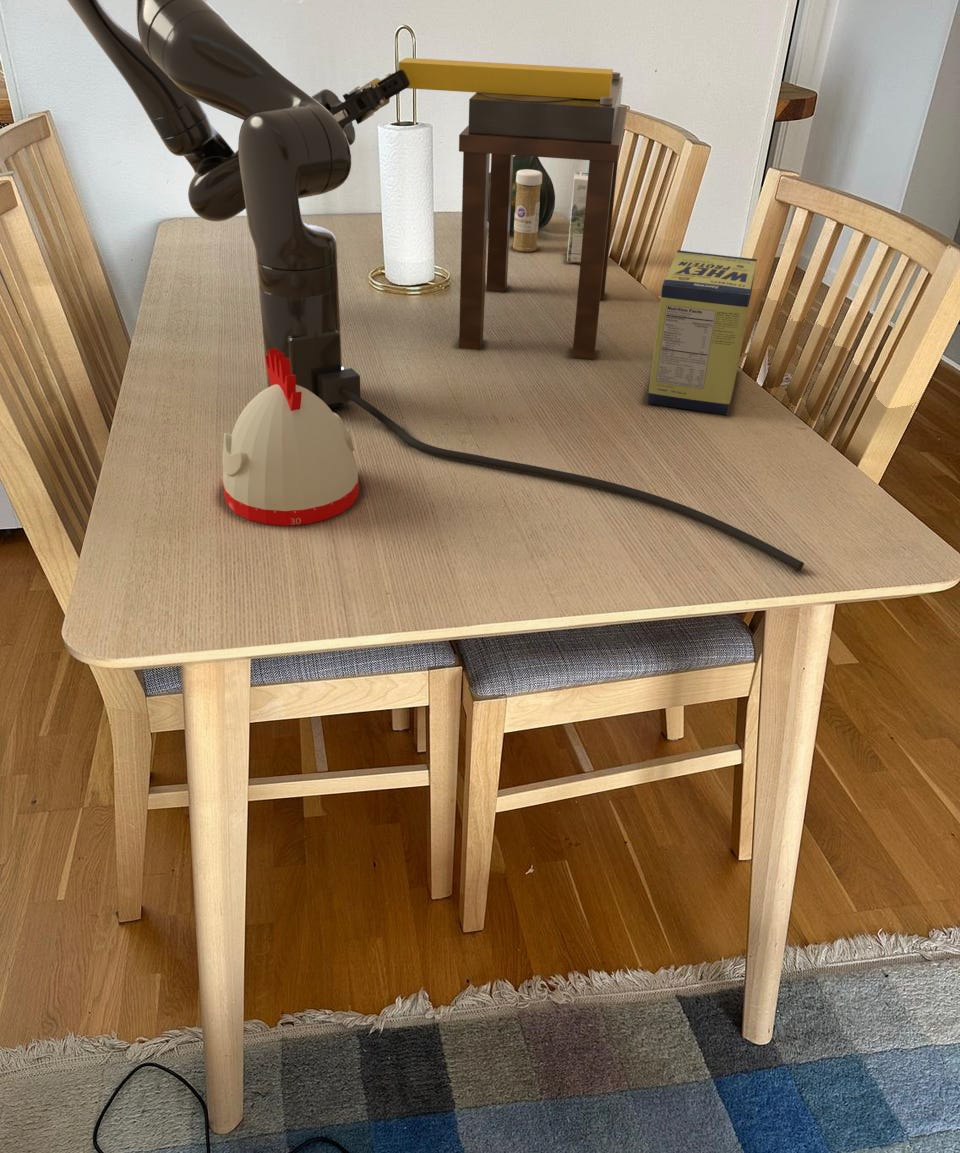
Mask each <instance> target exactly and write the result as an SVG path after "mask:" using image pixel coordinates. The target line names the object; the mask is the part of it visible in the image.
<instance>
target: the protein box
mask: <svg viewBox="0 0 960 1153" xmlns="http://www.w3.org/2000/svg"><path fill="white" fill-rule="evenodd" d="M757 260H758V259H757V258H750V257H749V258H748V257H741V256H730V255H723V254H716V253H715V254H713V253H704V252H695V251H687V250H681V249H678V250H677V251H676V254H675V255H674V258H673V260H672V262H671V264H670V266H669V269H668V271H667V274H666V276H665V277H664V280H663V283H662V285H661V294H660V300H659V301H660V302H659V303H660V304H659V310H658V318H657V326H656V333H655V342H654V349H653V355H652V361H651V370H650V379H649V385H648V393H647V401H646V403H647V404H649V405H655V406H663V407H671V408H676V409H684V410H692V411H697V412H706V413H713V414H719V415H725V416H728V415H729V411H730V406H731V402H732V398H733V393H734V389H735V385H736V384H735V383H736V378H737V375H738V374H737V373H738V368H739V365H740V358H741V353H742V347H743V342H744V336H745V332H746V326H747V320H748V316H749V310H750V305H751V299H752V293H753V286H754V280H755V272H756V266H757Z"/></svg>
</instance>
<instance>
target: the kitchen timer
mask: <svg viewBox="0 0 960 1153" xmlns="http://www.w3.org/2000/svg"><path fill="white" fill-rule="evenodd" d="M265 361H266V363H265V367H266V366H267V371H268V375H269V380H270V385H271V386H270V387H268V386H267V387H266V388H264V389H263V390H261V391H260V392H259V393H258V394H256V395H255V396H254V397H253V398H252V399H251V400H250V401H249V402H248V403H247V404H246V406H245V407H244V409H243V410H242V411H241V413H240V415H239V416H238V418H237V420H236V422H235V423H234V427H233V429H232V433H229V432H223V444H222V446H223V447H222V459H221V460H222V469H223V471H222V484H223V485H222V486H223V494H224V498H225V502H226V506H227V507H228V508H229V509H230V510H231V511H232V512H233V513H235V515H238V516H240V517H242V518H244V519H246V520H248V521H252V522H255V523H259V524H265V525H272V526H299V525H308V524H313V523H318V522H323V521H325V520H328V519H330V518H332V517H333V518H334V517H335V516H338V515H340V514H342V513H343V512H344V511H346V510H347V509H349V508H350V507H352V506H353V504H354V503H355V502H356V500H357V498H358V497H359V492H360V491H359V490H360V483H359V480H360V479H359V470H358V464H357V459H356V457H355V454H354V451H355V447H354V443H353V437H352V433H351V431H350V430H348V429H347V428H346V425H345V424H344V421H343V420H342V418H341V417H340V415H339V414H338V413H336V412H334V411H332V409H330V408H329V407H328V406H327V405H326V404H325V403H324V402H323V401H322V400H321V399H320V398H319V397H317V396H316V395H315V394H313V393H312V392H310V391H309V390H307V389H305V388H303V387H301V386H298V385H296V375H295V374H294V375H291V369H290V361H289V358H285V357H284V353H279V352H278V348H273V349H269V355H265V354H264V362H265Z"/></svg>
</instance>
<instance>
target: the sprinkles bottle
mask: <svg viewBox="0 0 960 1153" xmlns="http://www.w3.org/2000/svg"><path fill="white" fill-rule="evenodd" d="M516 183H517V191H516V208H515V218H514V234H513V244H512V248H513V249H514V250H515V251H517V252H524V253H526V252H527V253H529V252H530V253H531V252H534V251H536V250H537V249H538V232H539V229H538V223H539V207H540V187H541V184H542V173H541V172H540V171H537V170H529V169H525V170H519V171H517V174H516Z"/></svg>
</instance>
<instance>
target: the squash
mask: <svg viewBox="0 0 960 1153" xmlns="http://www.w3.org/2000/svg"><path fill="white" fill-rule="evenodd" d="M525 169H529V170H537V171H540V172H541V173H542V184H541V187H540V207H539V223H538V230H540V229H542V228H545V226H547V225H548V223H549V222H550V221H551V220H552V217H553V214H554V211H555V209H556V208H555V207H556V192H555V187H554V183H553V181H552V178H551V177H550V175H549V173H548V172H547V170H546V169H545V167H544V165H543V164H542V162H541V160H540V157H532V156H518V155H513V171H512V191H511V212H510V232H509V234H511V235H514V218H515V208H516V191H517V183H516V174H517V171H519V170H525ZM490 177H491V171H489V191H488V219H487V223H489V204H490Z"/></svg>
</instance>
